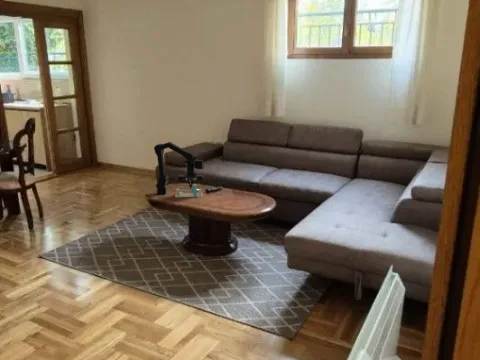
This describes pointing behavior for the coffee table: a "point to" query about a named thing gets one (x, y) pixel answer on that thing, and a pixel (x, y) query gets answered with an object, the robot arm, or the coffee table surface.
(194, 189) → the collar
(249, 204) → the coffee table surface
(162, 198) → the coffee table surface
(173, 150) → the robot arm
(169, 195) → the coffee table surface
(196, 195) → the pipe rig
